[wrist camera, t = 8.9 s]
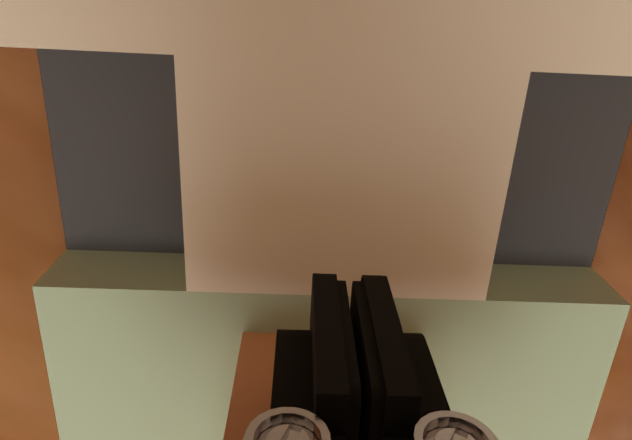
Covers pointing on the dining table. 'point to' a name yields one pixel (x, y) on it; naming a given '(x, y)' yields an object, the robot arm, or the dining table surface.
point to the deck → (328, 195)
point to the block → (251, 383)
